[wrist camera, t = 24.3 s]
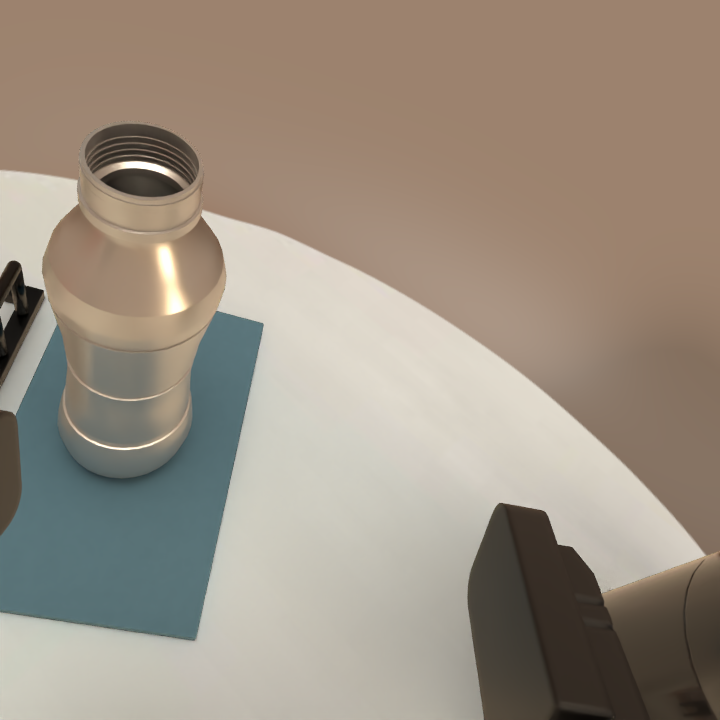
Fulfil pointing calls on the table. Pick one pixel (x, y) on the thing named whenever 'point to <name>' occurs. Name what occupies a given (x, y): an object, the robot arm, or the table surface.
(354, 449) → the table surface
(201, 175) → the beige bottle
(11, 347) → the dish rack
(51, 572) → the drying mat
